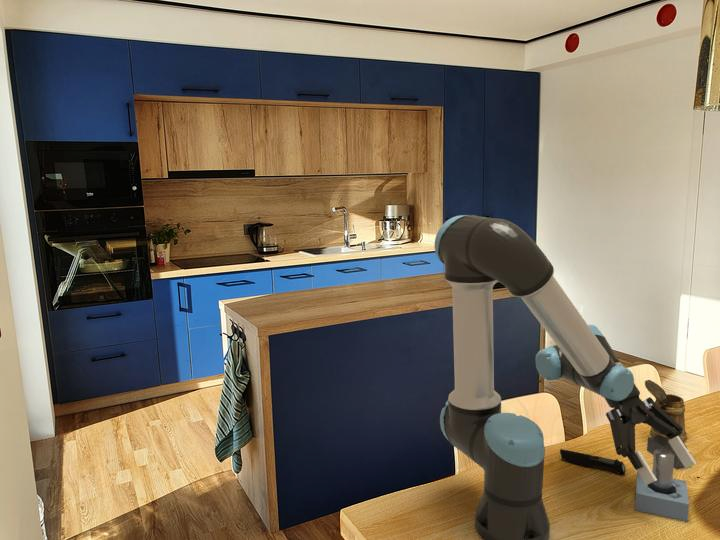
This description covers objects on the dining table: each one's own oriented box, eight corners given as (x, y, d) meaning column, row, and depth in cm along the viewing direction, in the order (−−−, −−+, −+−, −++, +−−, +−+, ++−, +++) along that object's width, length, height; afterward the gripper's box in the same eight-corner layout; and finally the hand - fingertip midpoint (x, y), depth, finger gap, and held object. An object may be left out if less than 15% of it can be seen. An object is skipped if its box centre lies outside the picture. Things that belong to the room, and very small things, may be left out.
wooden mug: (630, 435, 159) (635, 374, 156) (665, 426, 164) (670, 367, 161) (658, 450, 151) (663, 385, 148) (694, 439, 156) (699, 377, 153)
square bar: (646, 451, 151) (647, 437, 150) (659, 449, 152) (660, 435, 151) (676, 470, 142) (677, 455, 141) (689, 467, 143) (690, 452, 142)
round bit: (650, 506, 127) (653, 456, 124) (650, 496, 130) (653, 447, 128) (670, 510, 125) (674, 459, 123) (670, 501, 128) (674, 451, 126)
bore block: (635, 510, 125) (636, 493, 125) (636, 487, 134) (637, 471, 133) (687, 521, 121) (688, 504, 120) (684, 497, 130) (686, 481, 129)
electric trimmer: (561, 456, 150) (561, 445, 149) (626, 470, 142) (626, 458, 142) (558, 463, 147) (558, 451, 146) (624, 477, 139) (624, 465, 138)
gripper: (640, 383, 143) (693, 465, 133) (569, 404, 132) (622, 495, 121) (661, 369, 138) (719, 453, 127) (589, 389, 126) (646, 484, 116)
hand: (672, 474), depth 124 cm, fingers open, 13 cm apart
